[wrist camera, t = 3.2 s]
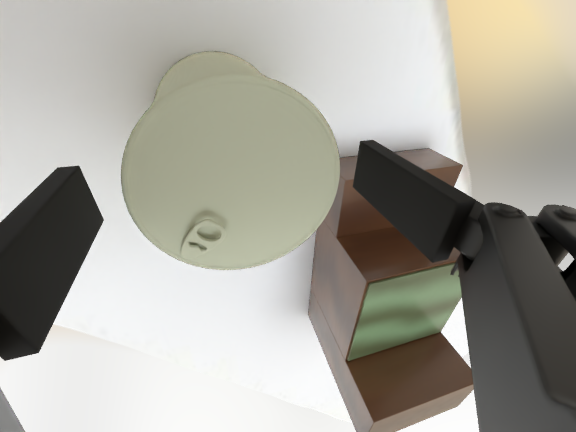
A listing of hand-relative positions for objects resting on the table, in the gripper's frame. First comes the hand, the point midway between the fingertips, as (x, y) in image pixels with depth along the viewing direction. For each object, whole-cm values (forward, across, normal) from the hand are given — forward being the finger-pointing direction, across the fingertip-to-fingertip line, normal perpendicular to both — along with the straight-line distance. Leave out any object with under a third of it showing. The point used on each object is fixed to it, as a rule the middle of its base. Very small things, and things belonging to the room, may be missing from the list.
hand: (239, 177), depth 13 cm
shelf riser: (+10, +15, -16) cm, 24 cm away
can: (+10, 0, 0) cm, 10 cm away
